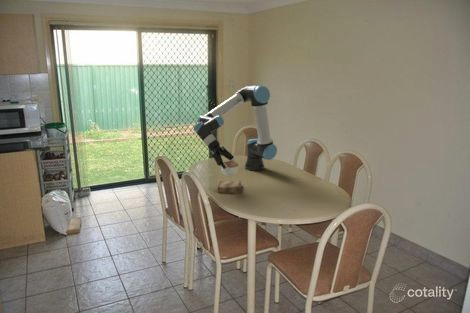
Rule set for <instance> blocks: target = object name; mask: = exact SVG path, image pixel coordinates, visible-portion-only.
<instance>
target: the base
mask: <svg viewBox="0 0 470 313" xmlns="http://www.w3.org/2000/svg"><path fill="white" fill-rule="evenodd" d="M241 190H242V181H241V180H237V181H236V180H219V183H218V186H217V193H224V192H228V193H230V194H232V193H234V194H240V193H241Z"/></svg>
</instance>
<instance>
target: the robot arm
mask: <svg viewBox="0 0 470 313" xmlns="http://www.w3.org/2000/svg"><path fill="white" fill-rule="evenodd" d="M270 98H271V93H270V90H269V88H268V87H267V86H264V85H261V84H259V85H258V84H247V85H245V86H244V87H241V88H240V89H238V90H237V91H236V92H234V95H232V96H231V97H229V98H228V99H226V100H225V101H223V102H222V103H220V104H218V105H217V106H216V107H214V108H213V109H211V110H210V111H209V112H207V113H205V114H202V115H201V114H200V115H198V117H197V119H196V120H197V123H195V125H194V126H193V130H194V132H195V133H196V134H197V136H198V137H199V138H200V140H202V142H203V143H204V144H205V145H206V147H207V148H208V150H210V154H211V156H212V157H213V158H214V162H216V163H215V164H217V166H219V167H221V166H222V167H223V168H224V170H225V171H226V172H227V173H229V172H230V171H231V170H230V169H229V168H228V166H227V165H226V164H225V163H223V162H224V160H223V159H222V157H225V158H226V159H227V160H228V161H230V162H236V161H235V159H234V155H233V154H232V153H231V152H229V150H227V149H226V148H225V147H224V146H220V145H221V143H220V141H218V139H217V138H216V137H215V136H214V135H213V132H215V131H217V130H218V129H219V128H221V127H222V126H224V124H225V121H224V118H223V116H224V115H226V114H228V113H230V112H231V111H232V110H233V109H235V108H236V107H238V106H239V105H243V104H244V103H248V102H250V105H251V107H252V108H253V110H254V118H255V124H256V131H257V138H249V139H248V140H247V142H246V143H247V144H246V148H247V149H246V150H247V151H246V154H247V155H246V161H245V163H244V169H245V170H247V171H251V172H252V171H255V172H256V171H257V172H259V171H263V170H264V169H265V163H264V160H267V161H270V160H273V159H274V158H275V157H276V156H277V153H278V148H277V145H275V144H274V140H273V139H272V138H271V132H270V126H269V119H268V110H267V106H268V104H269V100H270ZM239 167H240V166H239V165H238V168H239Z"/></svg>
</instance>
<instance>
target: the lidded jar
mask: <svg viewBox="0 0 470 313" xmlns="http://www.w3.org/2000/svg"><path fill="white" fill-rule="evenodd" d="M223 163H225V164H226V165H227V166H228V168H229V169H230V170H231V171H230V172H229V173H227V172H226V171H225V170H224V168H223V167H222V166H221V165H220V169H221V173H222V174H223V175H224V177H228V178H231V177H234V176H235V175H236V174H237V172H238V169H239V167H238V166H239V164H238V162H236V161H235V162H230V160H228V161H223Z"/></svg>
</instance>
